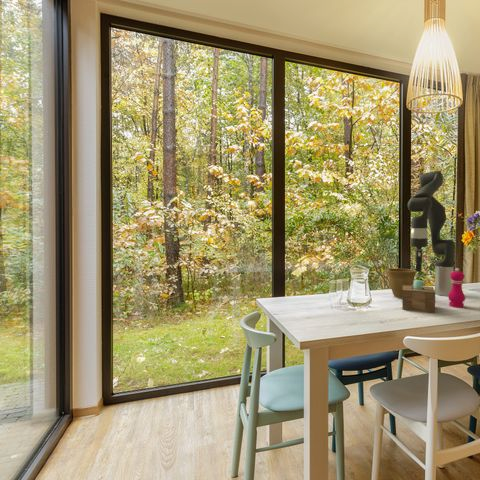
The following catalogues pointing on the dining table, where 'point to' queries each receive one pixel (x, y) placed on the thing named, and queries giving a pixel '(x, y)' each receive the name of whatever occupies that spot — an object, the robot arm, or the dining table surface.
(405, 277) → the plant pot
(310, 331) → the dining table surface
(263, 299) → the dining table surface
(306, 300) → the dining table surface
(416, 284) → the peg
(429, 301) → the socket block
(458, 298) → the pepper mill
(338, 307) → the dining table surface
